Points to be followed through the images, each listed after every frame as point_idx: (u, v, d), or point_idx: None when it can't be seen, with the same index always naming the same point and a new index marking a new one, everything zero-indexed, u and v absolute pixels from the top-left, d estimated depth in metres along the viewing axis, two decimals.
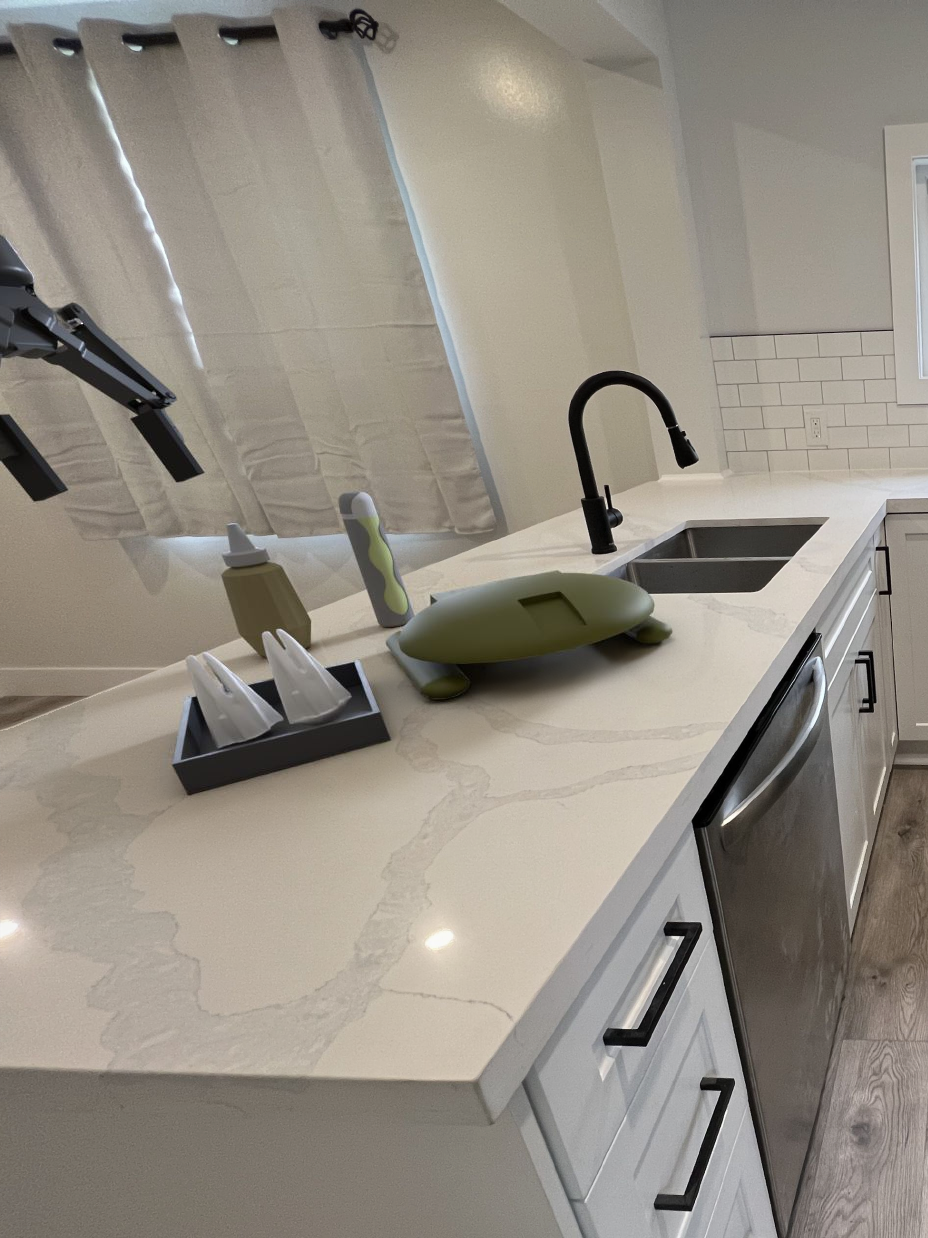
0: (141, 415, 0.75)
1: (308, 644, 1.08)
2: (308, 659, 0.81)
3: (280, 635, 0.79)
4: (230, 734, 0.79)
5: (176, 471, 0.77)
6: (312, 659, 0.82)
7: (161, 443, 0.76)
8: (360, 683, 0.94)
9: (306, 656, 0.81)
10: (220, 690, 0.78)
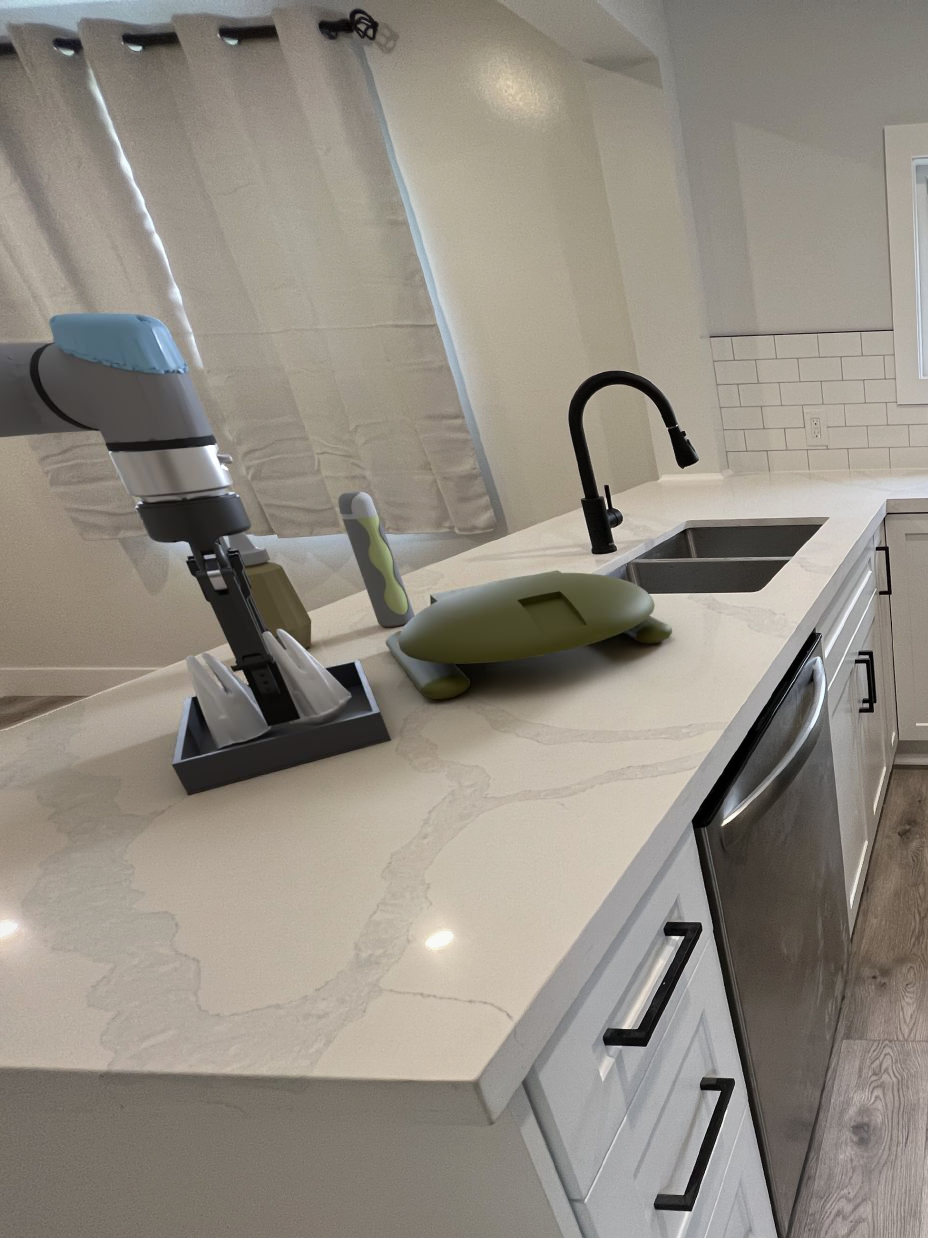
0: None
1: (308, 644, 1.08)
2: (308, 659, 0.81)
3: (280, 635, 0.79)
4: (230, 734, 0.79)
5: None
6: (312, 659, 0.82)
7: None
8: (360, 683, 0.94)
9: (306, 656, 0.81)
10: (220, 690, 0.78)
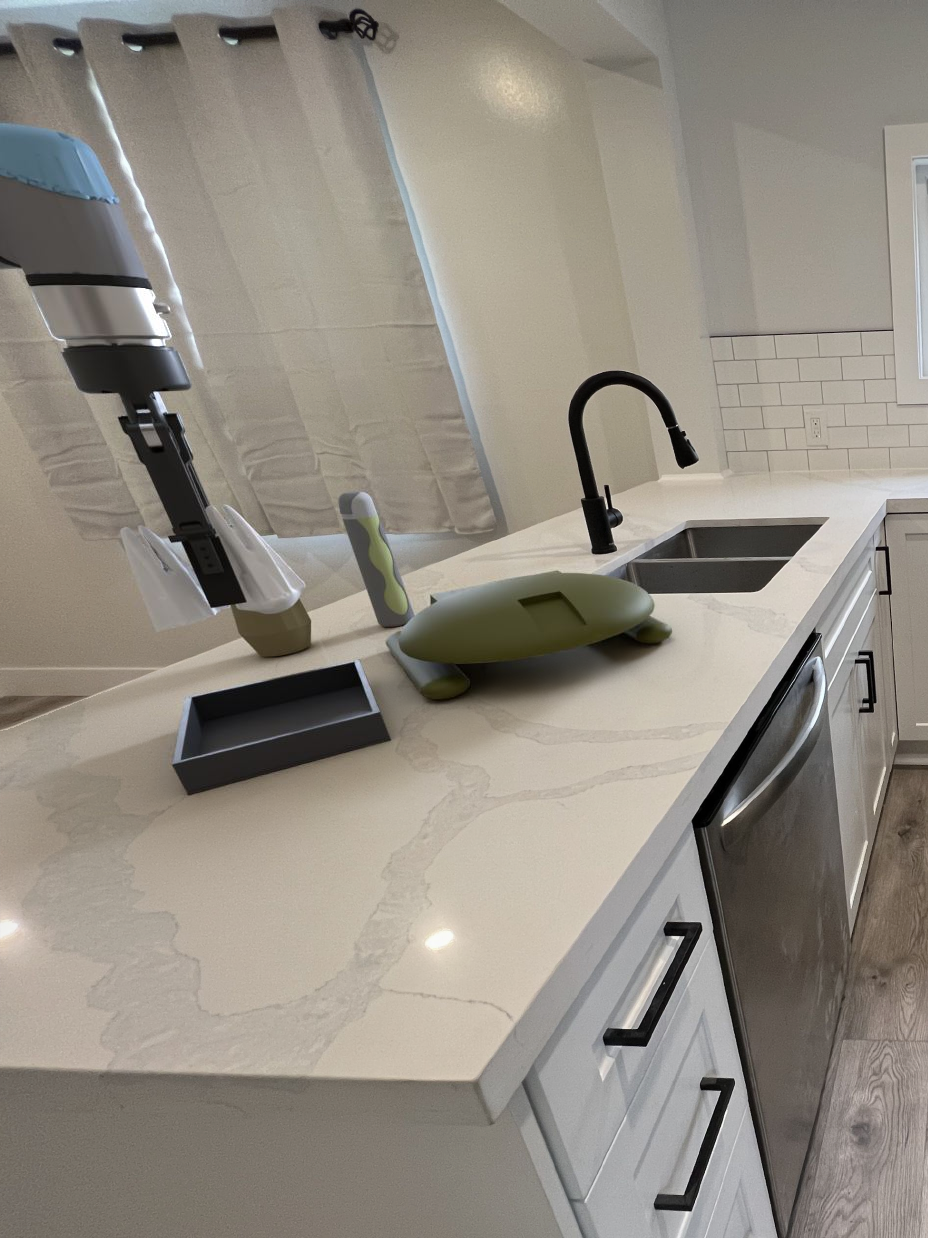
0: None
1: (308, 644, 1.08)
2: (257, 539, 0.75)
3: (226, 511, 0.74)
4: (171, 617, 0.74)
5: None
6: (262, 541, 0.77)
7: None
8: (360, 683, 0.94)
9: (255, 535, 0.75)
10: (159, 567, 0.72)
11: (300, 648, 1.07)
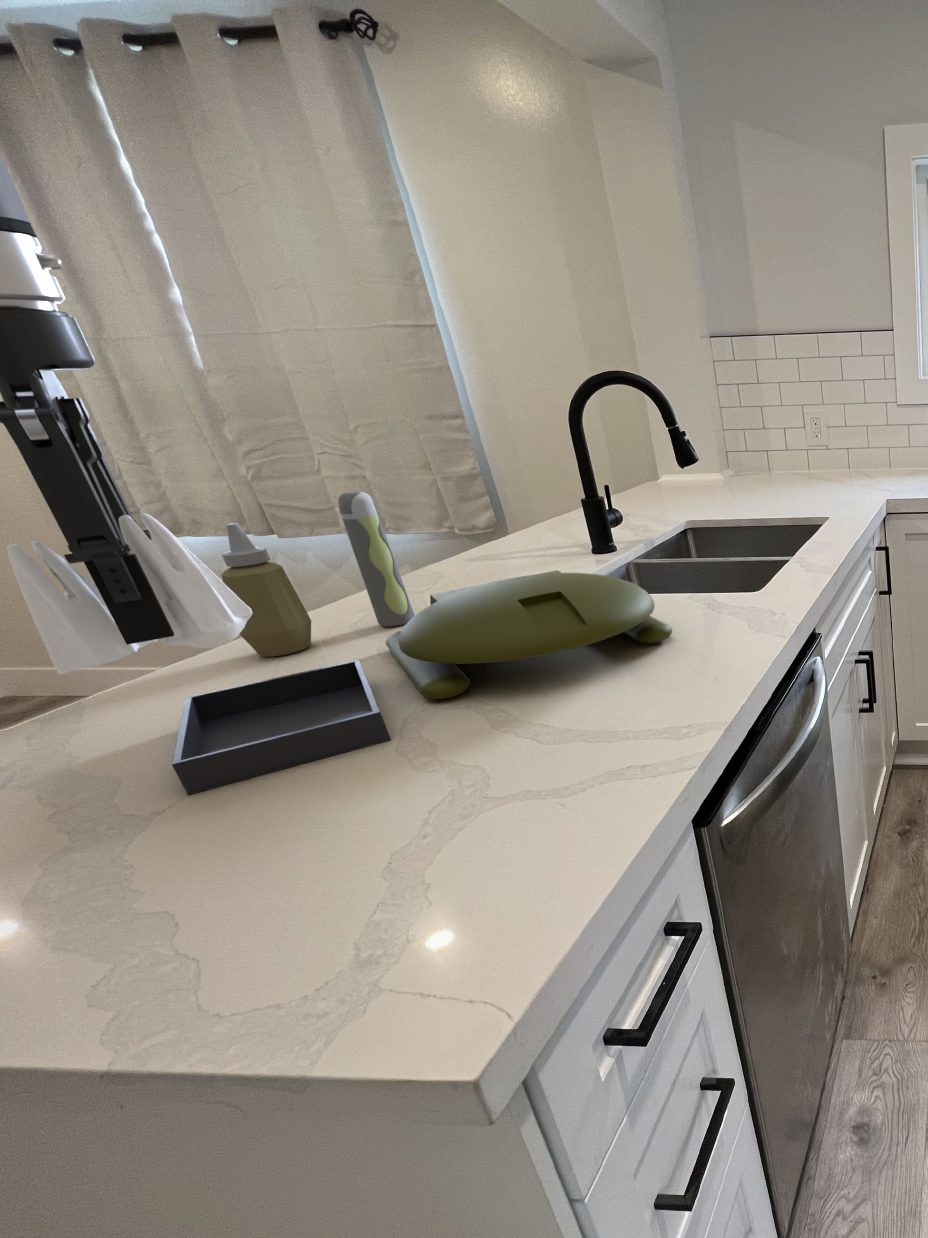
0: None
1: (308, 644, 1.08)
2: (187, 556, 0.60)
3: (145, 521, 0.59)
4: (78, 656, 0.59)
5: None
6: (194, 558, 0.61)
7: None
8: (360, 683, 0.94)
9: (184, 552, 0.60)
10: (59, 593, 0.57)
11: (300, 648, 1.07)
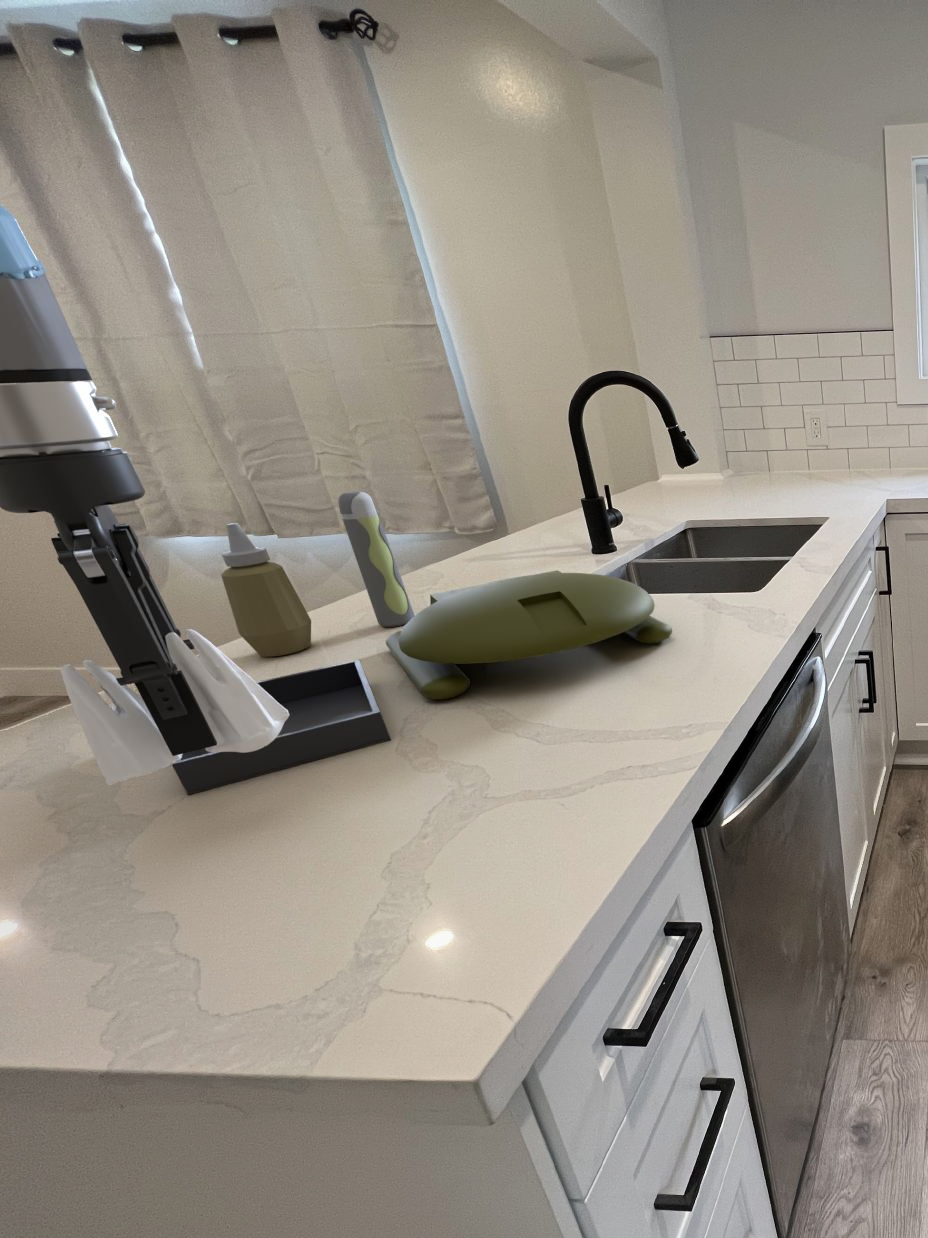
0: None
1: (308, 644, 1.08)
2: (229, 668, 0.63)
3: (190, 637, 0.61)
4: (126, 766, 0.61)
5: None
6: (235, 668, 0.64)
7: None
8: (360, 683, 0.94)
9: (226, 664, 0.63)
10: (109, 710, 0.59)
11: (300, 648, 1.07)
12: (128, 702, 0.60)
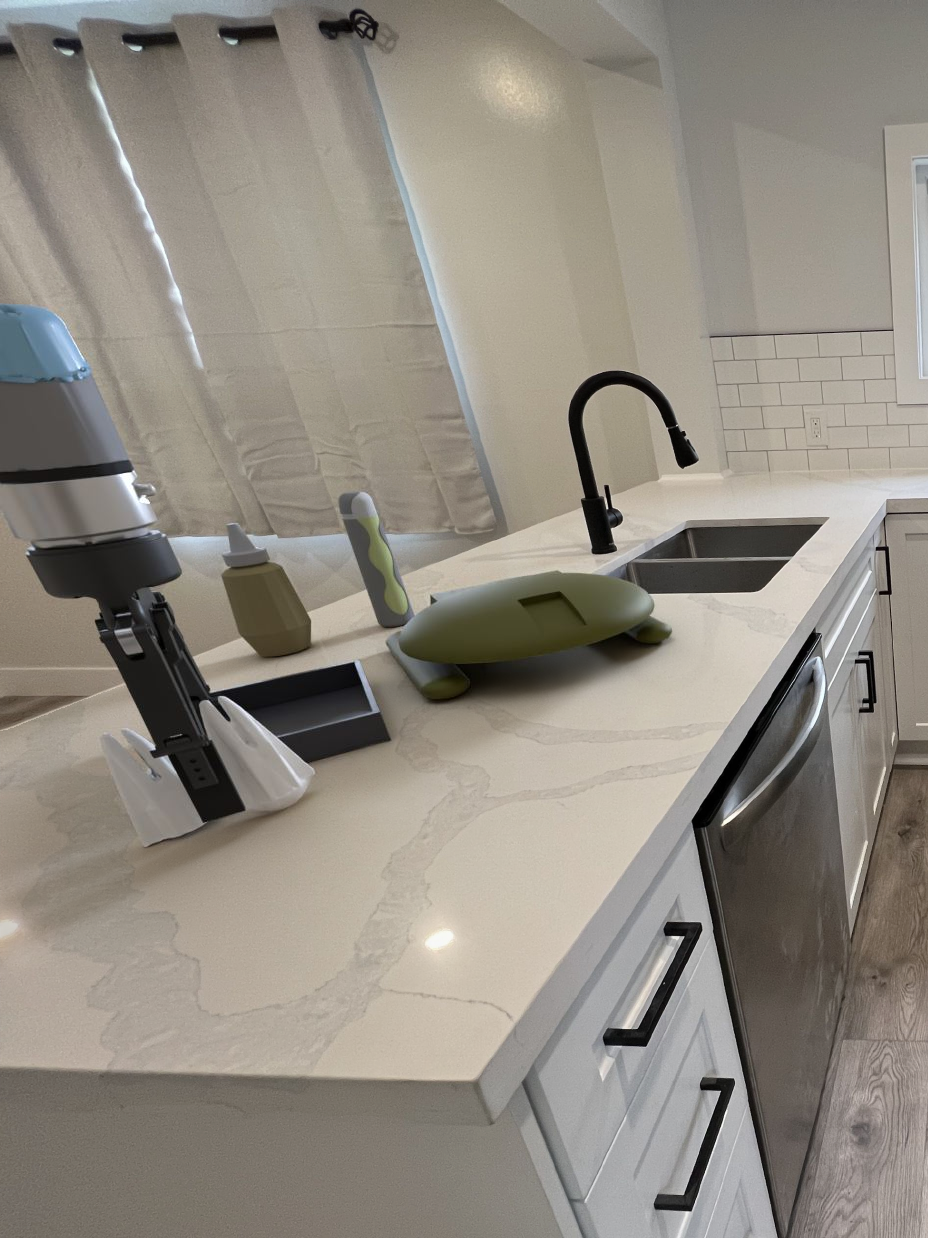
0: None
1: (308, 644, 1.08)
2: (259, 732, 0.65)
3: (223, 704, 0.64)
4: (160, 828, 0.64)
5: None
6: (264, 731, 0.66)
7: None
8: (360, 683, 0.94)
9: (257, 728, 0.65)
10: (146, 775, 0.62)
11: (300, 648, 1.07)
12: (163, 767, 0.63)
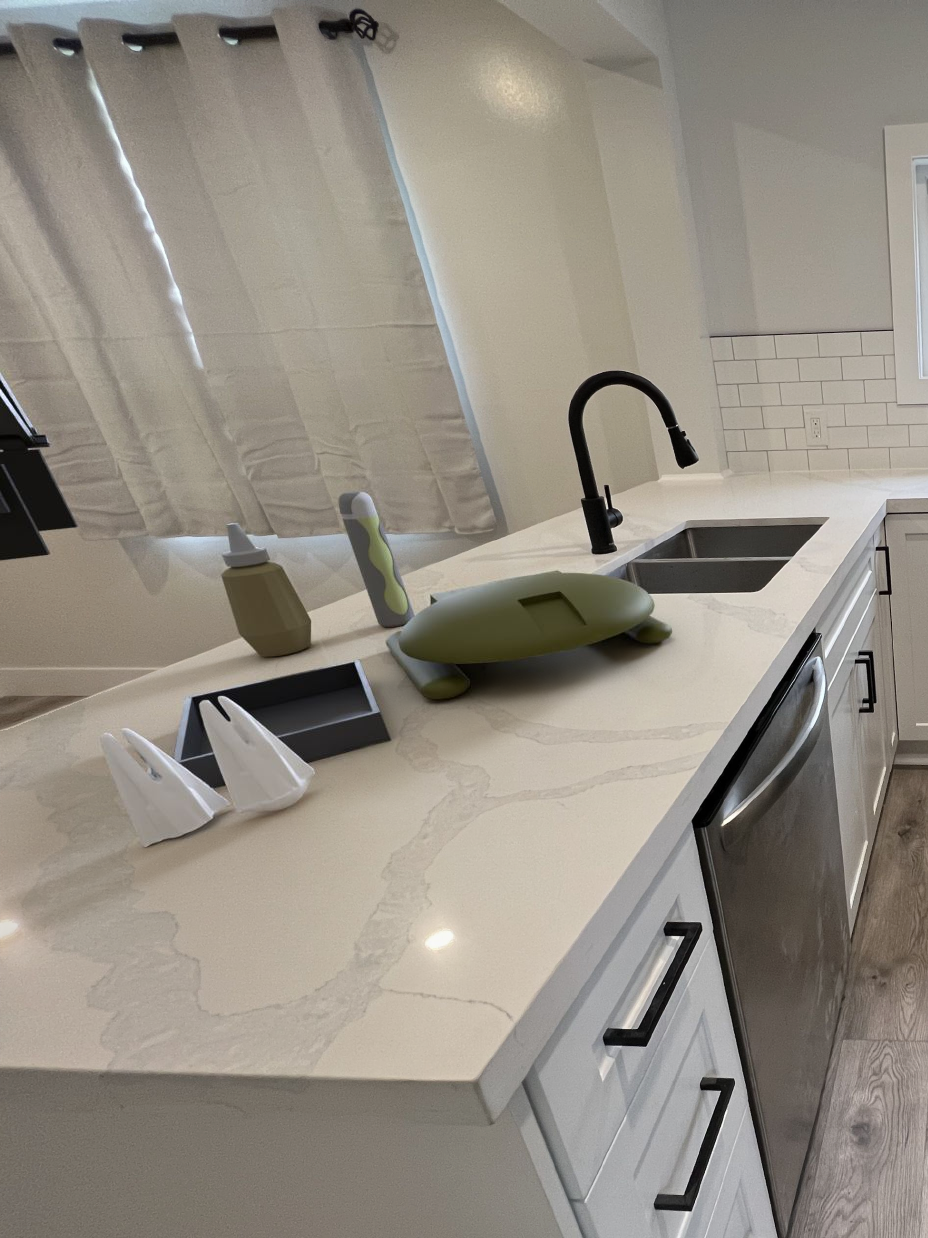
0: (13, 452, 0.63)
1: (308, 644, 1.08)
2: (259, 732, 0.65)
3: (223, 704, 0.64)
4: (160, 828, 0.64)
5: (39, 520, 0.65)
6: (264, 731, 0.66)
7: (30, 487, 0.64)
8: (360, 683, 0.94)
9: (257, 728, 0.65)
10: (146, 775, 0.62)
11: (300, 648, 1.07)
12: (163, 767, 0.63)
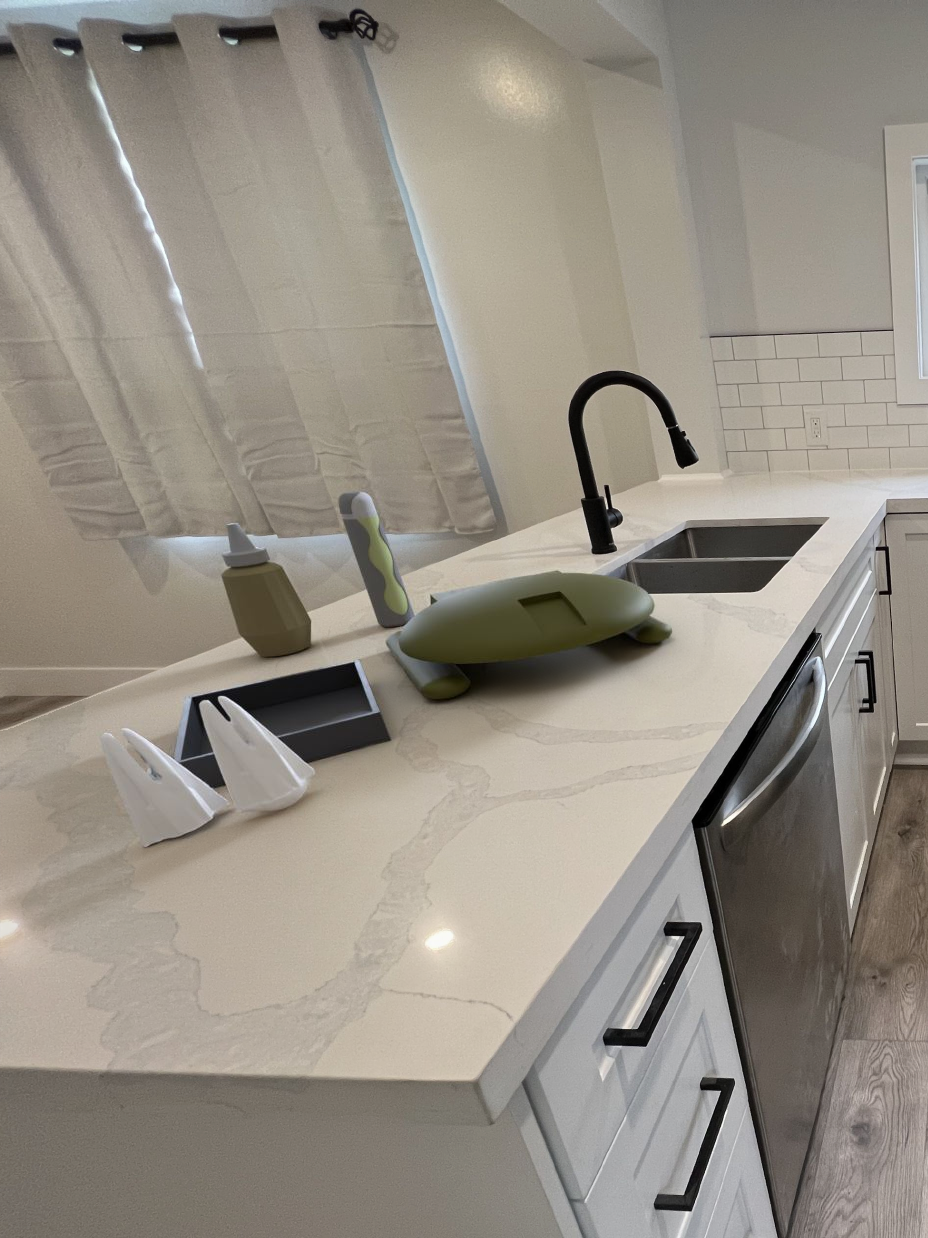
0: None
1: (308, 644, 1.08)
2: (259, 732, 0.65)
3: (223, 704, 0.64)
4: (160, 828, 0.64)
5: None
6: (264, 731, 0.66)
7: None
8: (360, 683, 0.94)
9: (257, 728, 0.65)
10: (146, 775, 0.62)
11: (300, 648, 1.07)
12: (163, 767, 0.63)
